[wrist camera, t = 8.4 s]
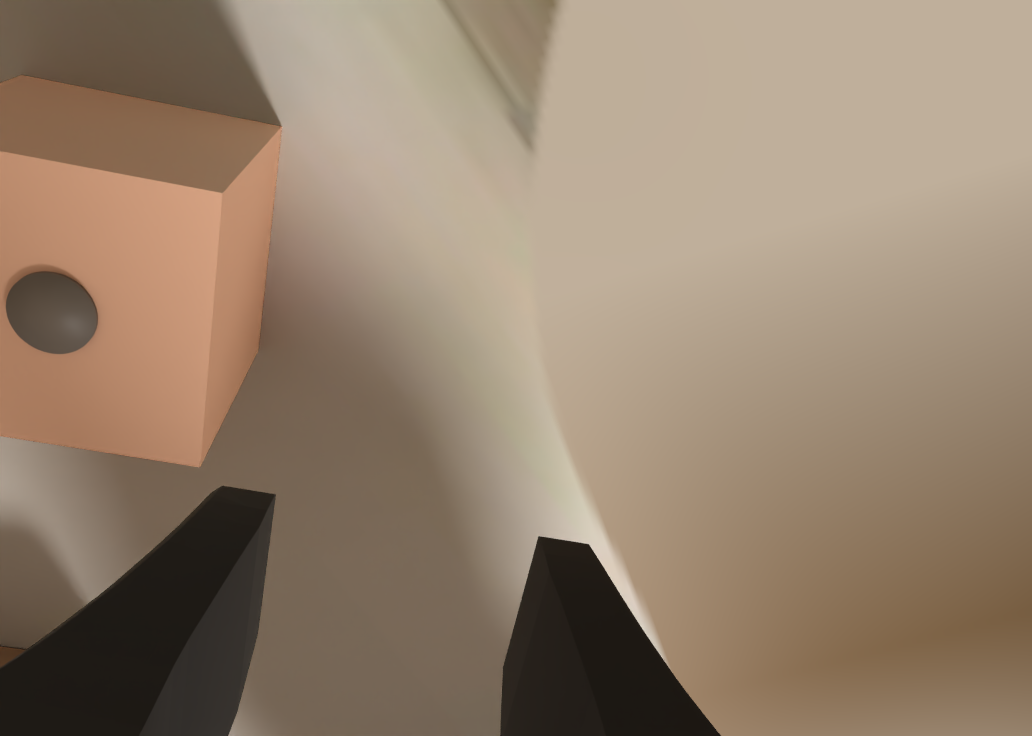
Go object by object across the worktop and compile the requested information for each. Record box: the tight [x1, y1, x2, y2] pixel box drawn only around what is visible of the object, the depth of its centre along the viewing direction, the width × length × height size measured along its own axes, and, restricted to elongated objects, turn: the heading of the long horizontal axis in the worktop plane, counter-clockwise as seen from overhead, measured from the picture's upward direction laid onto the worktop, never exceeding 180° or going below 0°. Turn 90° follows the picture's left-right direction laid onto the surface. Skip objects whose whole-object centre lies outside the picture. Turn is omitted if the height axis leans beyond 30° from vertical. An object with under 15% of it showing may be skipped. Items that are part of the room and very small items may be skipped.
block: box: [0, 75, 282, 467], centre depth 18 cm, size 5×5×5 cm
